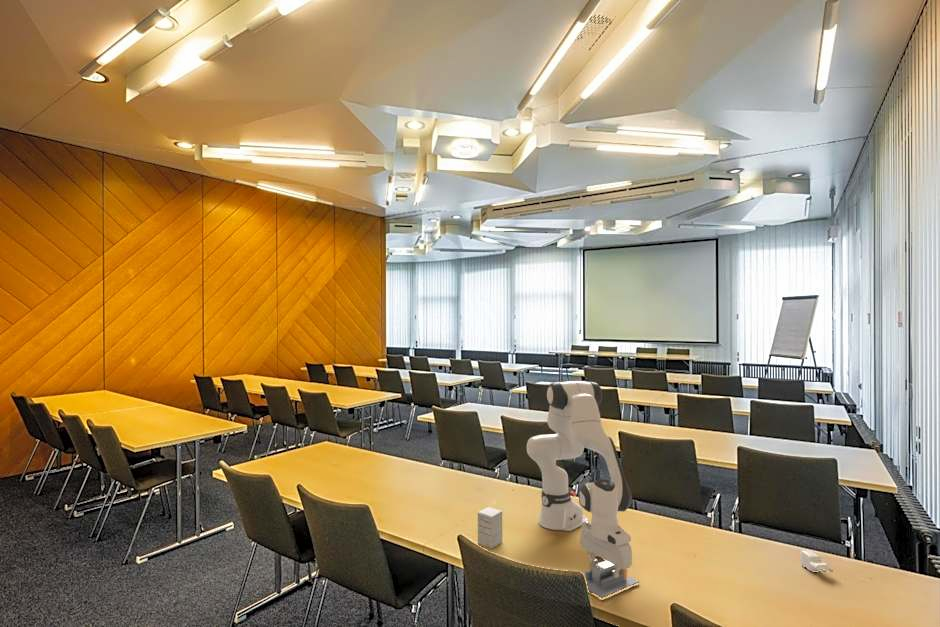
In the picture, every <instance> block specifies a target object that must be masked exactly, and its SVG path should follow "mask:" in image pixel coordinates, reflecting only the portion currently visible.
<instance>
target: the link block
mask: <svg viewBox="0 0 940 627" xmlns="http://www.w3.org/2000/svg"><path fill="white" fill-rule="evenodd" d="M591 569H592V581H593V582H595V583H597V584H598V585H601V580H602V579H605V578H607V577H610V576H612V571H614V570H615V569H616V568H615V567H614V564H612V563H610V562H608V561H606V560H604V561H601V562H598V563H597V564H596V565H591Z"/></svg>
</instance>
